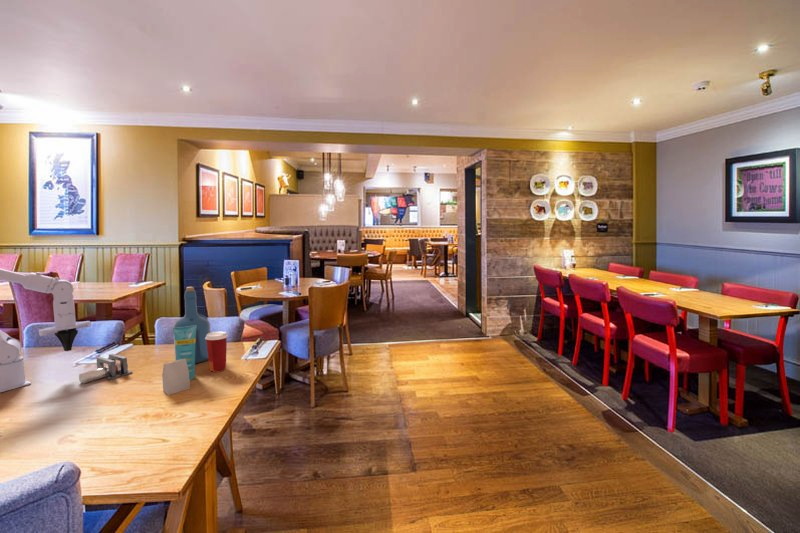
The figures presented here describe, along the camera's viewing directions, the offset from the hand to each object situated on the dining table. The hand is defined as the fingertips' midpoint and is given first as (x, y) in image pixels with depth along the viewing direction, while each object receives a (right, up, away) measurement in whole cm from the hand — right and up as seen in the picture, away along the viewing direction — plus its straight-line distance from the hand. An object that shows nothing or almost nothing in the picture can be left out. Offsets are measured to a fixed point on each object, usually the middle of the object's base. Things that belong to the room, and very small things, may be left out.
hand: (67, 350), depth 141 cm
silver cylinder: (+13, -10, 0) cm, 16 cm away
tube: (+44, -10, -1) cm, 45 cm away
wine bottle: (+36, -8, +19) cm, 41 cm away
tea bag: (+46, -11, -11) cm, 48 cm away
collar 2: (+15, -9, +5) cm, 18 cm away
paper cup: (+51, -9, +8) cm, 52 cm away
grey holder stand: (+13, -9, +1) cm, 16 cm away
